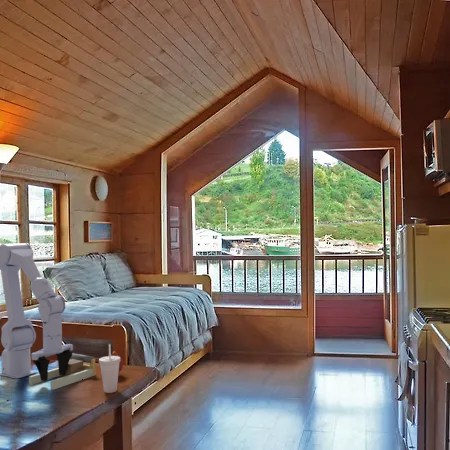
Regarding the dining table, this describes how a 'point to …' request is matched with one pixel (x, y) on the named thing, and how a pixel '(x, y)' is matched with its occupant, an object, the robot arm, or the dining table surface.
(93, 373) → the cream u-shaped frame
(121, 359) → the onion
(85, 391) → the dining table surface
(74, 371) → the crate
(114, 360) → the smoothie
